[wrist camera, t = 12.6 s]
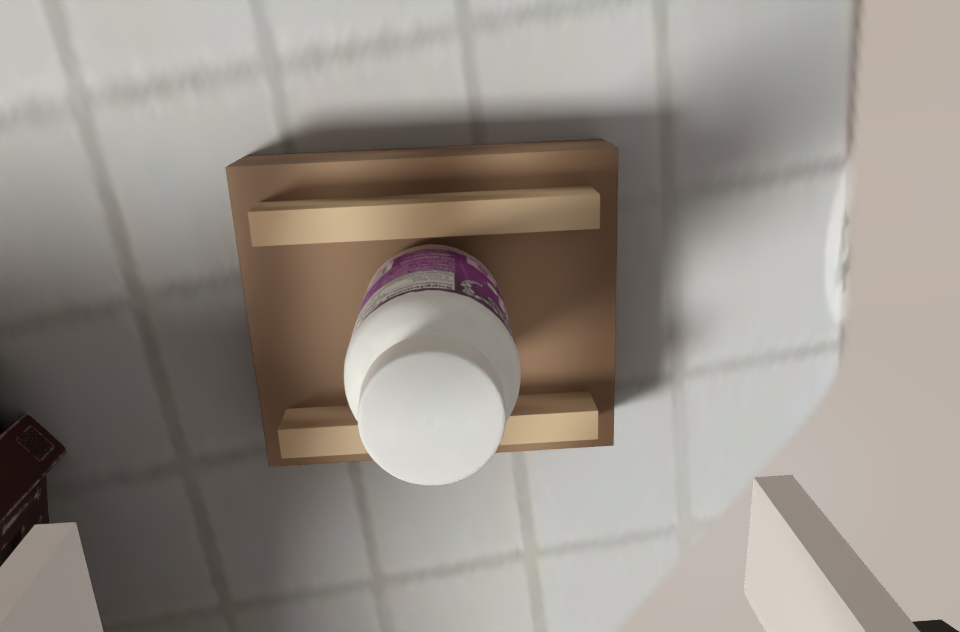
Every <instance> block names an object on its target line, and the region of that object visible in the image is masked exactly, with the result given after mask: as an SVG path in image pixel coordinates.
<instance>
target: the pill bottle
mask: <svg viewBox="0 0 960 632" xmlns="http://www.w3.org/2000/svg"><path fill="white" fill-rule="evenodd" d="M520 380H521V373H520V362H519V354H518V350H517V347H516V344H515V341H514V338H513V334H512V330H511V326H510V323H509V319H508V316H507V312H506V309H505V305H504V302H503V299H502V295H501V293H500V290H499V287H498V285H497V283H496V281H495V279H494V278H493V276H492V274H491V273H490V272H489V270H488V269H487V268H486V267H485V266H484V265H483V264H482V263H481V262H480V261H479V260H477V259H476V258H475V257H473V256H471V255H470V254H468V253H466V252H464V251H462V250H459V249H457V248H454V247H450V246H445V245H432V244H427V245H421V246H416V247H412V248H409V249H406V250H404V251H402V252H400V253H398V254H396V255H395V256H393V257H392V258H390V259H389V260H388V261H386V262H385V263H384V264H383V265H382V266H381V267H380V268H379V269H378V270H377V272H376V273H375V275H374V276H373V278H372V280H371V281H370V283H369V285H368V288H367V290H366V293H365V296H364V299H363V301H362V304H361V307H360V310H359V313H358V316H357V319H356V323H355V327H354V329H353V333H352V337H351V340H350V343H349V346H348V350H347V353H346V357H345V364H344V386H345V393H346V397H347V400H348V403H349V406H350V409H351V411H352V413H353V415H354V417H355V418H356V420H357V421H358V428H359V433H360V437H361V440H362V442H363V444H364V446H365V448H366V450H367V452H368V453H369V455H370V456H371V457H372V459H373V460H374V461H375V462H376V463H377V464H378V465H379V466H380V467H381V468H383V469H384V470H385V471H387V472H388V473H390V474H391V475H393V476H394V477H396V478H399V479H401V480H404V481H407V482H410V483H414V484H420V485H442V484H449V483H453V482H456V481H459V480H462V479H464V478H466V477H468V476H470V475H472V474H473V473H475V472H477V471H478V470H479V469H480V468H482V467H483V466H484V465H485V464H486V463H487V462H488V461H489V460H490V459H491V457H492V456H493V455H494V454H495V452H496V451H497V449H498V447H499V445H500V443H501V441H502V437H503V434H504V431H505V424H506V421H507V420H508V418H509V416H510V415H511V413H512V411H513V409H514V406H515V404H516V401H517V398H518V394H519V389H520Z"/></svg>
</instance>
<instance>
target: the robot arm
mask: <svg viewBox="0 0 960 632" xmlns="http://www.w3.org/2000/svg"><path fill="white" fill-rule="evenodd" d="M744 594H745V596H746V597H747V599H748V601H749V603H750V605H751V606H752V608H753V610H754V612H755V613H756V615H757V617H758V619H759V621H760V623H761V624H762V626H763V628H764V630H765V632H959V631H957V630H956V629H954V628H953V627H951V626H950V625H948V624H947V623H945V622H944V621H942V620H930V621H917V622H911V620H910V619H909V618H908V616H907V615H906V614H905V613H904V612H903V610H902V609H901V608H900V607H899V606H898V604H897V603H896V602H895V600H894V599H893V598H892V597H891V596H890V594H889V593H888V592H887V591H886V590H885V588H884V587H883V586H882V585H881V583H880V582H879V581H878V580H877V578H876V577H875V576H874V575H873V574H872V572H871V571H870V570H869V569H868V568H867V566H866V565H865V564H864V562H863V561H862V560H861V559H860V558H859V556H857V554H856V553H855V552H854V550H853V549H852V548H851V547H850V545H849V544H848V543H847V542H846V540H845V539H844V538H843V537H842V536H841V534H840V533H839V532H838V531H837V529H836V528H835V527H834V526H833V525H832V523H831V522H830V521H829V520H828V518H827V517H826V516H825V515H824V513H823V512H822V511H821V510H820V509H819V507H818V506H817V505H816V504H815V502H814V501H813V500H812V499H811V498H810V496H809V495H808V494H807V493H806V491H805V490H804V489H803V488H802V487H801V485H800V484H799V483H798V482H797V480H796V479H795V478H794V477H793V475H784V476H769V477H754V482H753V493H752V505H751V516H750V527H749V539H748V550H747V561H746V574H745V583H744ZM0 632H103V628H102V624H101V620H100V616H99V612H98V608H97V604H96V600H95V596H94V592H93V588H92V584H91V580H90V576H89V572H88V568H87V564H86V560H85V556H84V552H83V548H82V544H81V540H80V536H79V532H78V528H77V524H76V522H69V523H53V524H38V525H34V526H33V528H32V529H31V530H30V531H29V533H28V534H27V535H26V536H25V538H24V539H23V540H22V541H21V542H20V544H19V545H18V546H17V547H16V549H15V550H14V551H13V552H12V553H11V555H10V556H9V557H8V558H7V560H6V561H5V562H4V563H3V565H2V566H1V567H0Z"/></svg>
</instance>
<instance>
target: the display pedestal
mask: <svg viewBox="0 0 960 632" xmlns="http://www.w3.org/2000/svg"><path fill="white" fill-rule="evenodd" d="M226 173H227V180H228V187H229V194H230V201H231V208H232V215H233V221H234V228H235V235H236V242H237V249H238V256H239V263H240V270H241V277H242V284H243V290H244V297H245V304H246V311H247V318H248V325H249V332H250V339H251V346H252V352H253V359H254V366H255V373H256V380H257V387H258V394H259V401H260V408H261V414H262V421H263V428H264V435H265V442H266V449H267V456H268V463H269V467H271V466H287V465H303V464H320V463H336V462H352V461H369V460H373V459H372V457H371V456H370V455H369V453H368V452H367V450H366V448H365V446H364V444H363V442H362V440H361V437H360V433H359V428H358V421H357V420H356V418H355V417H354V415H353V413H352V411H351V409H350V406H349V403H348V400H347V397H346V393H345V386H344V364H345V357H346V353H347V350H348V346H349V343H350V340H351V337H352V333H353V329H354V327H355V323H356V319H357V316H358V313H359V310H360V307H361V304H362V301H363V299H364V296H365V293H366V290H367V288H368V285H369V283H370V281H371V280H372V278H373V276H374V275H375V273H376V272H377V270H378V269H379V268H380V267H381V266H382V265H383V264H384V263H385V262H386V261H388V260H389V259H390V258H392V257H393V256H395V255H396V254H398V253H400V252H402V251H404V250H406V249H409V248H412V247H416V246H421V245H427V244H432V245H445V246H450V247H454V248H457V249H459V250H462V251H464V252H466V253H468V254H470V255H471V256H473V257H475V258H476V259H477V260H479V261H480V262H481V263H482V264H483V265H484V266H485V267H486V268H487V269H488V270H489V272H490V273H491V274H492V276H493V278H494V279H495V281H496V283H497V285H498V287H499V290H500V293H501V295H502V299H503V302H504V305H505V309H506V312H507V316H508V319H509V323H510V326H511V330H512V334H513V338H514V341H515V344H516V347H517V350H518V354H519V362H520V373H521V380H520V389H519V394H518V398H517V401H516V404H515V406H514V409H513V411H512V413H511V415H510V416H509V418H508V420H507V421H506V424H505V431H504V434H503V437H502V441H501V443H500V445H499V447H498V449H497V451H496V452H495V453H499V452H515V451H531V450H547V449H564V448H580V447H596V446H612V445H613V444H614V381H615V318H616V255H617V193H618V148H617V147H615V146H613V145H612V144H610V143H608V142H606V141H604V140H603V139H591V140H571V141H550V142H529V143H508V144H487V145H466V146H445V147H424V148H403V149H382V150H361V151H340V152H319V153H298V154H277V155H256V156H244V157H243V158H241V159H239V160H237V161H236V162H234V163H232V164H230V165H229V166H227V167H226Z"/></svg>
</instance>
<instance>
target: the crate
mask: <svg viewBox="0 0 960 632" xmlns="http://www.w3.org/2000/svg"><path fill="white" fill-rule="evenodd" d="M66 451H67V450H66V448H65V447H64V446H63V445H62V444H61V443H60V442H59V441H58V440H56V439H55V438H54V437H53V436H52V435H51V434H50V433H49V432H48V431H46V430H45V429H44V428H43V427H42V426H41V425H40V424H39V423H38V422H36V421H35V420H34V419H33V418H32V417H31V416H29V415H28V414H23V415H22V416H20V417H19V418H18V419H17V420H16V421H14V422H13V423H12V424H11V425H10V426H8V427H7V428H6V429H5V430H4V428H3V422H0V567H1V566H2V565H3V563H4V562H5V561H6V560H7V558H8V557H9V556H10V555H11V553H12V552H13V551H14V550H15V549H16V547H17V546H18V545H19V544H20V542H21V541H22V540H23V539H24V538H25V536H26V535H27V534H28V533H29V531H30V530H31V529H32V528H33V526H34V525H38V524H49V518H48V501H47V482H46V474H47V473H48V472H49V470H50V469H51V468H52V467H53V466H54V465H55V464H56V463H57V462H58V461H59V460H60V458H61V457H62V456H63V455H64V454H65V453H66Z"/></svg>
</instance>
